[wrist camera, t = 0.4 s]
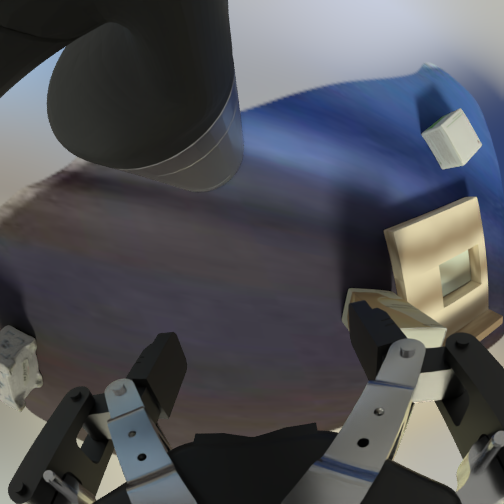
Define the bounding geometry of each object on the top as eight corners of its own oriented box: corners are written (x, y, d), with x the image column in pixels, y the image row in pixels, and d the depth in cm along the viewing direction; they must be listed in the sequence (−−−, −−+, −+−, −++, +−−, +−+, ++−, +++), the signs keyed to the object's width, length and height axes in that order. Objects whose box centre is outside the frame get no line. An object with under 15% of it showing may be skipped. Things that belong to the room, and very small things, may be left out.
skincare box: (392, 290, 30) (451, 326, 18) (384, 323, 31) (435, 370, 19) (345, 286, 30) (394, 328, 18) (338, 321, 31) (378, 376, 19)
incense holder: (48, 386, 33) (17, 417, 23) (17, 365, 33) (-15, 390, 22) (44, 342, 32) (4, 371, 22) (12, 320, 31) (-27, 342, 21)
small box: (440, 116, 27) (461, 106, 22) (461, 151, 28) (483, 146, 23) (419, 133, 28) (440, 124, 23) (441, 170, 28) (464, 167, 24)
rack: (383, 230, 29) (409, 234, 23) (465, 197, 29) (494, 196, 23) (405, 355, 32) (426, 376, 26) (478, 310, 31) (502, 323, 25)
